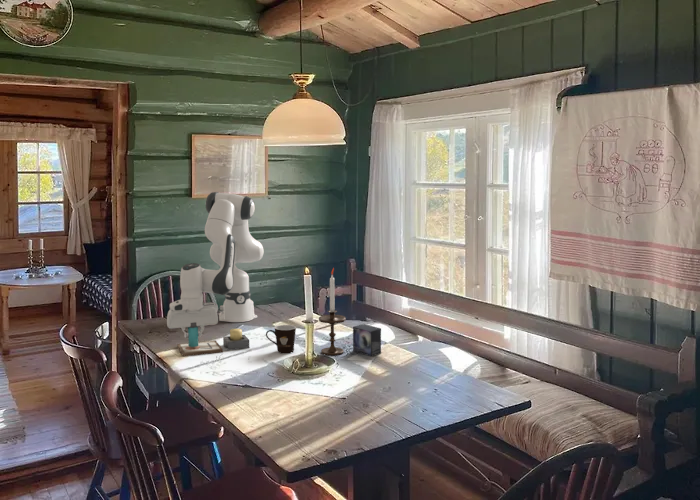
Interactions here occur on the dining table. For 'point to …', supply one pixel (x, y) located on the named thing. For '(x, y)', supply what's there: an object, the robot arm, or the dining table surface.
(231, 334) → the button cap
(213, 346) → the board
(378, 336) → the small box
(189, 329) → the teal bottle
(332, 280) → the candlestick
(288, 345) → the coffee mug
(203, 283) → the robot arm
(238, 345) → the button housing
